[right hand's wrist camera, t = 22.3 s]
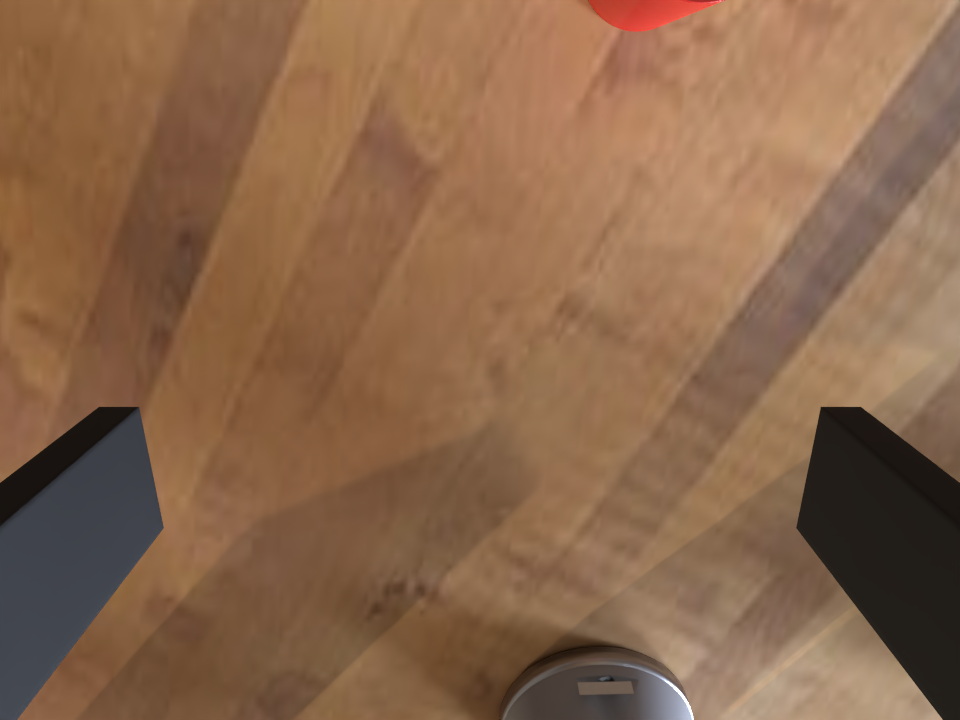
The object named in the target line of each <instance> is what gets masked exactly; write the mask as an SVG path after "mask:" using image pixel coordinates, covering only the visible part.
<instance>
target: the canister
mask: <svg viewBox="0 0 960 720" xmlns="http://www.w3.org/2000/svg"><path fill="white" fill-rule="evenodd" d="M722 1H724V0H589V2H590V4H591V6H592V7H593V9H594V10H595V11H596V13H597V14H598V15H599V16H600V17H601V18H602V19H604V20H605V21H606V22H608V23H609V24H611V25H613V26H615V27H617V28H620V29H623V30H627V31H646V30H651V29H654V28H657V27H660V26H662V25H665V24H667V23H670V22H672V21H675V20H677V19H679V18H682V17H684V16H687V15H689V14H692V13H694V12H697V11H699V10H702V9H704V8H707V7H709V6H712V5H714V4H717V3H719V2H722Z"/></svg>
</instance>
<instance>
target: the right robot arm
mask: <svg viewBox="0 0 960 720" xmlns="http://www.w3.org/2000/svg"><path fill="white" fill-rule="evenodd" d="M163 528H164V527H163V522H162V517H161V513H160V508H159V503H158V498H157V493H156V488H155V483H154V478H153V473H152V468H151V464H150V459H149V454H148V449H147V444H146V439H145V434H144V429H143V424H142V420H141V415H140V410H139V407H99V408H97V409H96V410H95V411H93V412H92V413H91V414H89V415H88V416H87V417H86V418H84V419H83V420H82V421H80V422H79V423H78V424H76V425H75V426H74V427H73V428H71V429H70V430H69V431H67V432H66V433H65V434H63V435H62V436H61V437H60V438H58V439H57V440H56V441H54V442H53V443H52V444H50V445H49V446H48V447H47V448H45V449H44V450H43V451H41V452H40V453H39V454H37V455H36V456H35V457H33V458H32V459H31V460H30V461H28V462H27V463H26V464H24V465H23V466H22V467H20V468H19V469H18V470H17V471H15V472H14V473H13V474H11V475H10V476H9V477H7V478H6V479H5V480H4V481H2V482H1V483H0V720H17V719H18V718H19V716H20V715H21V714H22V712H23V711H24V710H25V709H26V707H27V706H28V705H29V703H30V702H31V701H32V699H33V698H34V697H35V695H36V694H37V693H38V692H39V690H40V689H41V688H42V686H43V685H44V684H45V682H46V681H47V680H48V678H49V677H50V676H51V675H52V673H53V672H54V671H55V669H56V668H57V667H58V665H59V664H60V663H61V661H62V660H63V659H64V658H65V656H66V655H67V654H68V652H69V651H70V650H71V648H72V647H73V646H74V644H75V643H76V642H77V641H78V639H79V638H80V637H81V635H82V634H83V633H84V631H85V630H86V629H87V627H88V626H89V625H90V624H91V622H92V621H93V620H94V618H95V617H96V616H97V614H98V613H99V612H100V610H101V609H102V608H103V607H104V605H105V604H106V603H107V601H108V600H109V599H110V597H111V596H112V595H113V594H114V592H115V591H116V590H117V588H118V587H119V586H120V584H121V583H122V582H123V580H124V579H125V578H126V577H127V575H128V574H129V573H130V571H131V570H132V569H133V567H134V566H135V565H136V563H137V562H138V561H139V560H140V558H141V557H142V556H143V554H144V553H145V552H146V550H147V549H148V548H149V546H150V545H151V544H152V543H153V541H154V540H155V539H156V537H157V536H158V535H159V533H160V532H161V531H162V529H163ZM796 528H797V529H798V531H799V532H800V533H801V535H802V536H803V537H804V539H805V540H806V541H807V543H808V544H809V545H810V546H811V548H812V549H813V550H814V552H815V553H816V554H817V556H818V557H819V558H820V560H821V561H822V562H823V563H824V565H825V566H826V567H827V569H828V570H829V571H830V573H831V574H832V575H833V577H834V578H835V579H836V580H837V582H838V583H839V584H840V586H841V587H842V588H843V590H844V591H845V592H846V594H847V595H848V596H849V597H850V599H851V600H852V601H853V603H854V604H855V605H856V607H857V608H858V609H859V611H860V612H861V613H862V614H863V616H864V617H865V618H866V620H867V621H868V622H869V624H870V625H871V626H872V628H873V629H874V630H875V631H876V633H877V634H878V635H879V637H880V638H881V639H882V641H883V642H884V643H885V644H886V646H887V647H888V648H889V650H890V651H891V652H892V654H893V655H894V656H895V658H896V659H897V660H898V661H899V663H900V664H901V665H902V667H903V668H904V669H905V671H906V672H907V673H908V675H909V676H910V677H911V678H912V680H913V681H914V682H915V684H916V685H917V686H918V688H919V689H920V690H921V692H922V693H923V694H924V695H925V697H926V698H927V699H928V701H929V702H930V703H931V705H932V706H933V707H934V709H935V710H936V711H937V712H938V714H939V715H940V716H941V718H942V719H943V720H960V483H959V482H958V481H956V480H955V479H954V478H953V477H951V476H950V475H949V474H947V473H946V472H945V471H943V470H942V469H941V468H940V467H938V466H937V465H936V464H934V463H933V462H932V461H930V460H929V459H928V458H927V457H925V456H924V455H923V454H921V453H920V452H919V451H917V450H916V449H915V448H913V447H912V446H911V445H910V444H908V443H907V442H906V441H904V440H903V439H902V438H900V437H899V436H898V435H897V434H895V433H894V432H893V431H891V430H890V429H889V428H887V427H886V426H885V425H884V424H882V423H881V422H880V421H878V420H877V419H876V418H874V417H873V416H872V415H871V414H869V413H868V412H867V411H865V410H864V409H863V408H861V407H821V410H820V415H819V419H818V424H817V429H816V434H815V439H814V444H813V449H812V454H811V459H810V464H809V468H808V473H807V478H806V483H805V488H804V493H803V498H802V503H801V508H800V513H799V517H798V522H797V527H796ZM500 720H694V719H693V715H692V712H691V709H690V706H689V703H688V700H687V697H686V694H685V691H684V689H683V687H682V685H681V684H680V682H679V681H678V679H677V678H676V677H675V676H674V674H673V673H672V672H670V671H669V670H668V669H667V668H666V667H665V666H663V665H662V664H661V663H659V662H657V661H656V660H654V659H652V658H650V657H648V656H646V655H643V654H641V653H638V652H635V651H631V650H627V649H622V648H615V647H602V646H601V647H584V648H577V649H572V650H568V651H564V652H561V653H558V654H555V655H552V656H550V657H548V658H545V659H543V660H541V661H540V662H538V663H536V664H535V665H533V666H531V667H530V668H529V669H527V670H526V671H525V672H523V673H522V674H521V675H520V676H519V677H518V678H517V679H516V680H515V682H514V683H513V684H512V685H511V687H510V688H509V690H508V691H507V693H506V695H505V697H504V699H503V702H502V705H501V709H500Z"/></svg>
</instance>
